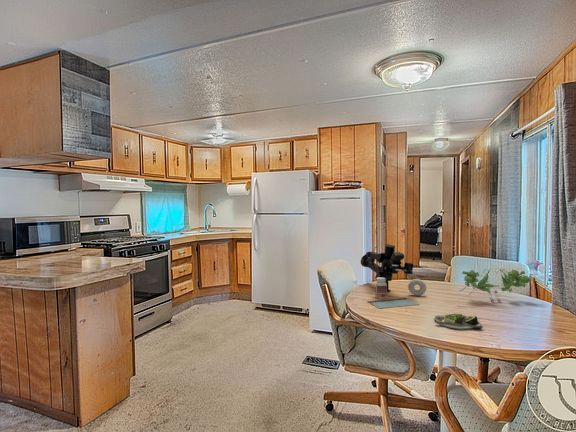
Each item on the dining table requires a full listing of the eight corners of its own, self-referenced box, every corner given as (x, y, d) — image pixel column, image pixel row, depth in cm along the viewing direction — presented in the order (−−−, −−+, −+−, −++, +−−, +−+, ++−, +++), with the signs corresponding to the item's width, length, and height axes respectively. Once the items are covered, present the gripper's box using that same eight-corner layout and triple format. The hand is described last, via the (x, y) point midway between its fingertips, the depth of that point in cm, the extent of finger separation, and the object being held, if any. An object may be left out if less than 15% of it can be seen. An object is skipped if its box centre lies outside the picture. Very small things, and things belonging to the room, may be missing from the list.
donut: (426, 295, 192) (426, 278, 191) (426, 297, 188) (426, 280, 188) (408, 294, 195) (408, 277, 195) (408, 295, 192) (408, 279, 192)
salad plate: (445, 333, 135) (445, 322, 135) (423, 319, 153) (423, 309, 153) (489, 331, 137) (489, 320, 137) (462, 317, 155) (462, 307, 154)
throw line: (367, 302, 180) (367, 301, 180) (405, 298, 186) (405, 297, 186) (368, 302, 179) (368, 302, 179) (406, 299, 185) (406, 298, 185)
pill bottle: (388, 298, 187) (388, 278, 186) (378, 299, 185) (378, 279, 185) (383, 295, 193) (383, 276, 192) (373, 296, 191) (373, 277, 191)
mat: (369, 303, 178) (369, 302, 178) (408, 299, 184) (408, 299, 184) (379, 308, 168) (379, 308, 168) (419, 304, 174) (419, 304, 174)
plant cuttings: (455, 310, 184) (471, 295, 166) (446, 282, 194) (461, 265, 176) (518, 310, 183) (542, 295, 165) (507, 282, 193) (527, 265, 175)
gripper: (378, 249, 192) (391, 258, 177) (407, 251, 195) (422, 259, 180) (375, 267, 194) (388, 277, 179) (404, 268, 197) (418, 278, 182)
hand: (404, 273), depth 180 cm, fingers open, 9 cm apart
